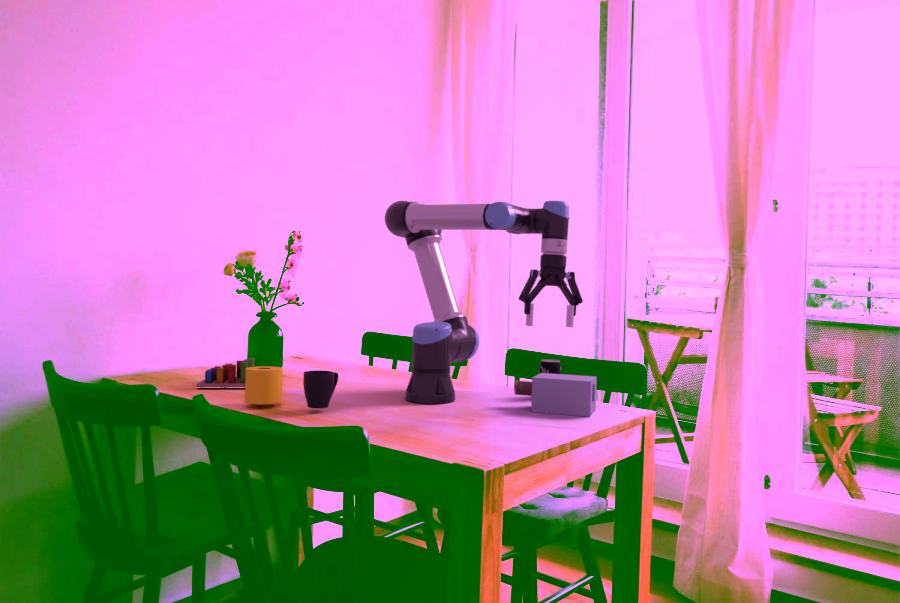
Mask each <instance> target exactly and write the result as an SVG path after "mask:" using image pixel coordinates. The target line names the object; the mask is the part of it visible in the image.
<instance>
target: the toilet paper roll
mask: <svg viewBox="0 0 900 603" xmlns="http://www.w3.org/2000/svg"><path fill="white" fill-rule="evenodd" d="M282 386H283V367H279V366H271V365H270V366H268V365H266V366H264V365H263V366H254V367H248V368H246V383H245V389H244V392H245V393H244V396H245V397H244V403H245V404H249V405H260V406H261V405H263V406H264V405H276V404H280V403H281V402H282V401H283V400H282V399H283V398H282V396H283V393H282V392H283V387H282Z"/></svg>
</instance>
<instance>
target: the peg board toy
mask: <svg viewBox="0 0 900 603" xmlns="http://www.w3.org/2000/svg"><path fill="white" fill-rule="evenodd" d="M255 361H256V360H255V358H254V357H248V358H247V359H246V358H245V359H243V360H236V364H233V363H225V364H223V365H219V366H218V365H217V366H214V367H210V368H209V369H207V370H205V371H204V379H203V380H201V381H199V382H197V383H196V384H195V387H196V386H197V387H221V388H222V387H224V388H226V387H245V383H246V368H248V367H255Z"/></svg>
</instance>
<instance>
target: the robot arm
mask: <svg viewBox="0 0 900 603" xmlns="http://www.w3.org/2000/svg"><path fill="white" fill-rule="evenodd" d="M569 205H570V204H568V202H566V201H563V200H562V201H561V200H547V201H544V202H543V205H542V207H541V208H525V207H521V206H517V205H515V204H511V203H508V202H506V201H494V202H493V203H463V204H462V203H458V204H457V203H455V204H454V203H453V204H452V203H451V204H447V203H446V204H425V203H424V204H423V203H422V204H420V203H419V202H418V201H407V200H398V201H394V202H393V203H391V204H389V206H388V207H387V209H386V211H385V213H384V224H385V226H386V228H387V230H388V231H389V232H390V233H391V234H392V235H394V236H396V237H400V238H404V239H405V242H406V245H407V249H408V250H410V251H412V252H413V253H414V255H415V259H416V263H417V266H418V270H419V273H420V278H421V279H422V283H423V286H424V289H425V293H426V296H427V300H428V304H429V306H430V309H431V314H432V316H433V321H430V322H421V323H418V324H416V325H415V326H414V327H413V329H412V330H413V331H412V336H411V339H412V341H411V342H412V348H411V349H412V352H411V354H412V355H411V357H412V358H411V374H410V378H409V381H408V384H407V386H406V390H405V397H404V398H405V400H406V401H408V402H412V403H417V404H418V403H419V404H448V403H453V402H455V401H456V391H455V388H454V384H453V380H452V377H451V363H462V362H464V361H467V360H469V359H472V357H473V356H475V355H476V353H477V351H478V349H479V344H480V338H479V334H478V332H477V330H476V329H475V328H474V327H473V326H471V325H469V322H468V318H467V316H466V315H465V314H464V313H462V312H461V311H460V307H459V305H458V302H457V299H456V295H455V293H454V290H453V285H452V282H451V278H450V275H449V273H448V270H447V267H446V263H445V260H444V256H443V254H442V249H441V246H440V243H441V241H442V239H443V237H442V232H443V231H444V230H446V231H448V230H450V231H455V230H456V231H457V230H458V231H460V230H461V231H463V230H464V231H465V230H467V231H469V230H471V231H472V230H473V231H474V230H476V231H477V230H483V231H484V230H486V231H487V230H489V231H506V232H507V233H508V234H513V235H520V234H521V235H522V234H524V235H525V234H527V235H531V234H533V235H538V234H539V235H541V244H540V245H541V246H540V253H541V255H540V260H539V261H540V262H539V263H540V264H539V266H540V269H539V270H538V269H530V272H529V277H528V278H527V281H526V283H525V285H524V287H523V289H522V291H521V292H520V294H519V296H518V300H519V301H521V302H522V303H523V304H524V310H523V312H524V315H526V316H525V317H526V318H525V326H527V327H533V326H534V323H533V322H534V306H535V303H532V302H533V301H534V300H535V299H536V297H537V296H538V295H539V294H540V293H541V291H542V290H543V289H544V288H545V287H546V286H548V287H558V288H559V290H560V291H561V292H562V294H563V296H564V297H565V299H566V300H567V302H568V303H569V304H567V305H566V318H565V321H566V322H565V327H566V328H573V327H574V317H575V316H576V314H577V307H578V306H579V304H582V303H583V302H584V301H583V298H582V296H581V292H580V290H579V287H578V285H577V280H576V276H575V275H576V273H575V271H568V272H566V267H567V259H568V258H567V255H566V254H567V252H568V235H569V220H570V206H569ZM442 230H443V231H442ZM539 277H540V279H539V281H538V282H537V284H536V285H535V283H536V281H537V278H539ZM564 279H566V280H567V282H566V281H565V280H564ZM567 283H568V284H567ZM534 285H535V286H534ZM567 285H568V286H569V288H568V286H567Z"/></svg>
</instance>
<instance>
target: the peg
mask: <svg viewBox="0 0 900 603" xmlns="http://www.w3.org/2000/svg"><path fill="white" fill-rule="evenodd" d="M513 388H514V390H513V391H514V395H516V396H529V397H532V381H528V380H524V381H523V380H515V383H514V386H513Z"/></svg>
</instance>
